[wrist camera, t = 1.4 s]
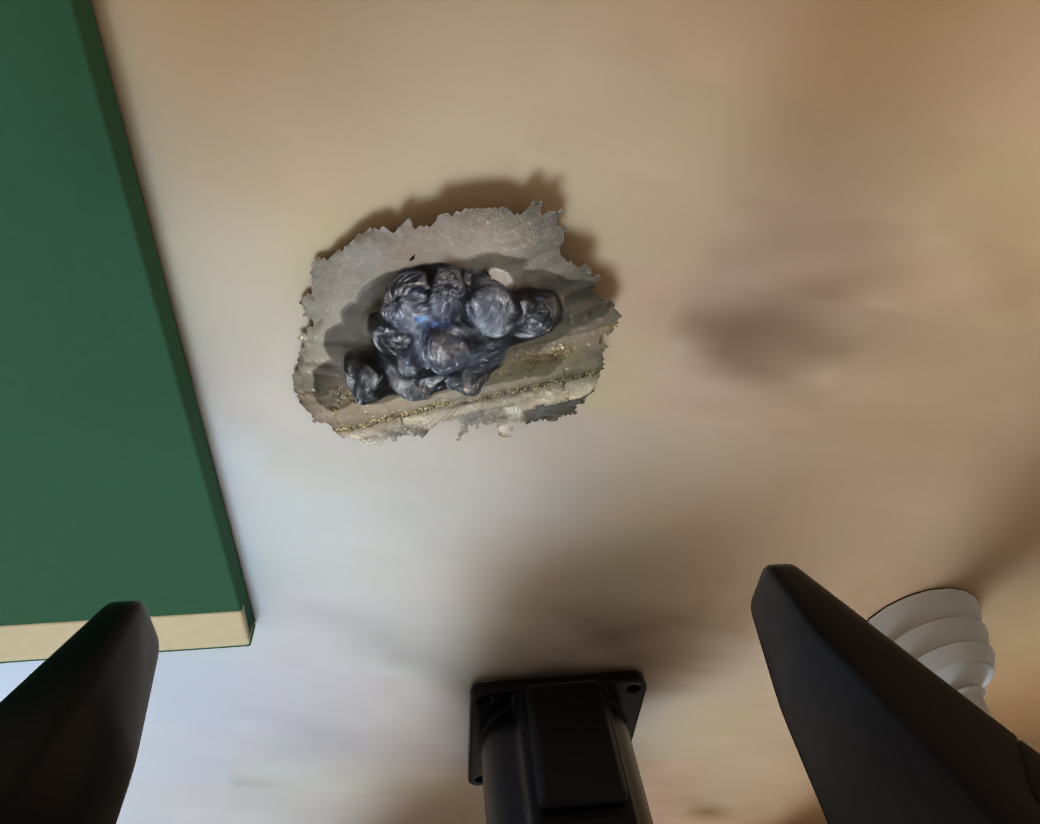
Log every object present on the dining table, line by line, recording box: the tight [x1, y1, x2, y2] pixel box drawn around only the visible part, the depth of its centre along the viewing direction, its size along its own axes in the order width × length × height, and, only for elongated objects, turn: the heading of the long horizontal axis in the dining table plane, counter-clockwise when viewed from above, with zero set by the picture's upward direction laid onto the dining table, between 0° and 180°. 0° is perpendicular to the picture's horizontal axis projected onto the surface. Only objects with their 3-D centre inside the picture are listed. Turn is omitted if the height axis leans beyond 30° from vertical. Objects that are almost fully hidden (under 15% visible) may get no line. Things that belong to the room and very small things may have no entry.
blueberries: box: [292, 201, 622, 446], centre depth 15 cm, size 7×8×2 cm
